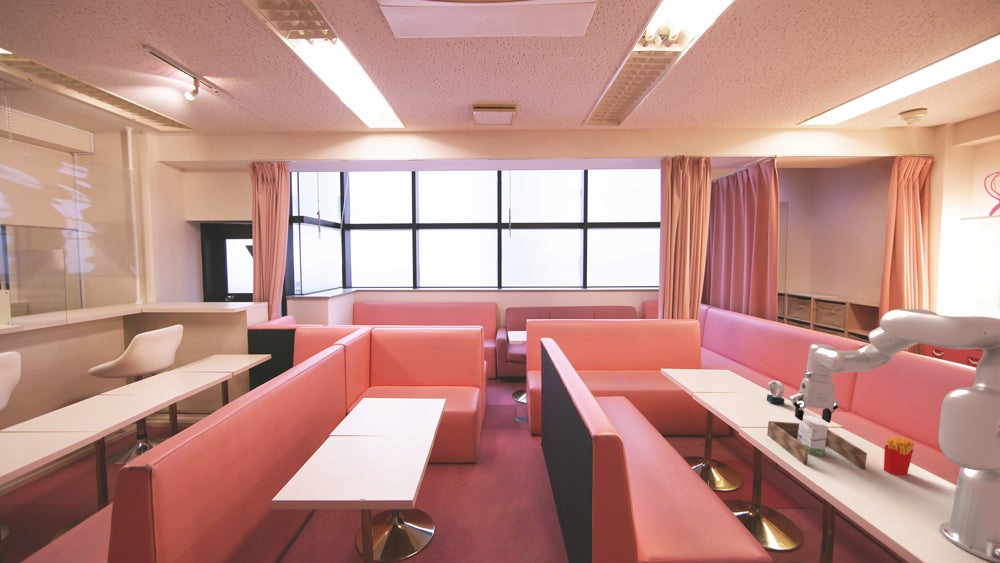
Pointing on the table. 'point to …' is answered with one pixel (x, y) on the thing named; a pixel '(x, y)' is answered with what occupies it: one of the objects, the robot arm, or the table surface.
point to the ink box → (812, 435)
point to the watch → (773, 397)
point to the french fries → (898, 455)
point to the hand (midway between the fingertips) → (812, 419)
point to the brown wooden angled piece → (786, 439)
